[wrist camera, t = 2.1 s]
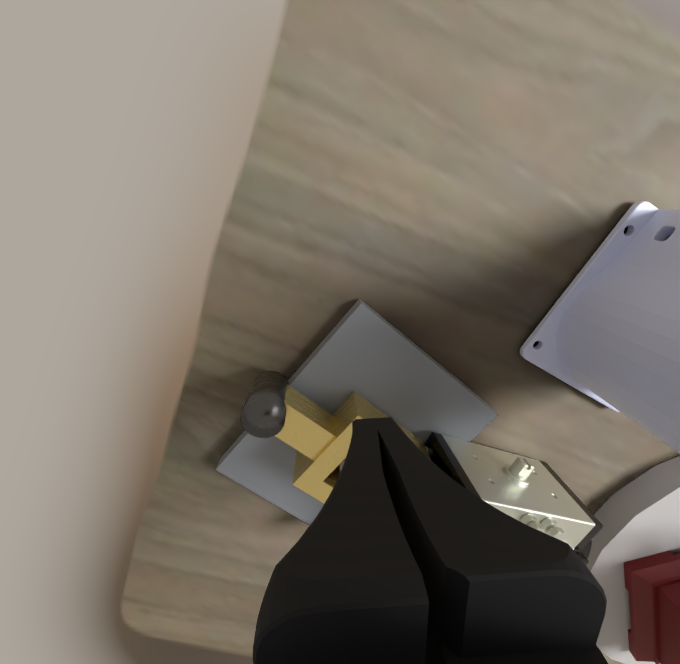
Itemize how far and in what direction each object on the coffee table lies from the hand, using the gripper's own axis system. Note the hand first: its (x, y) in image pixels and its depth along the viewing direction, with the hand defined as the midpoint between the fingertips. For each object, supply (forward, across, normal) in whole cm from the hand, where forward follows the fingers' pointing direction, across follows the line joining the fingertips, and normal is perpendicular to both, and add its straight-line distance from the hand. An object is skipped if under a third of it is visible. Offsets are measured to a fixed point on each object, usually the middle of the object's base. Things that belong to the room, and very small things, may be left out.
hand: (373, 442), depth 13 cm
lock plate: (+8, 0, +6) cm, 10 cm away
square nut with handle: (+7, +2, +4) cm, 8 cm away
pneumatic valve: (+5, -4, +17) cm, 18 cm away
